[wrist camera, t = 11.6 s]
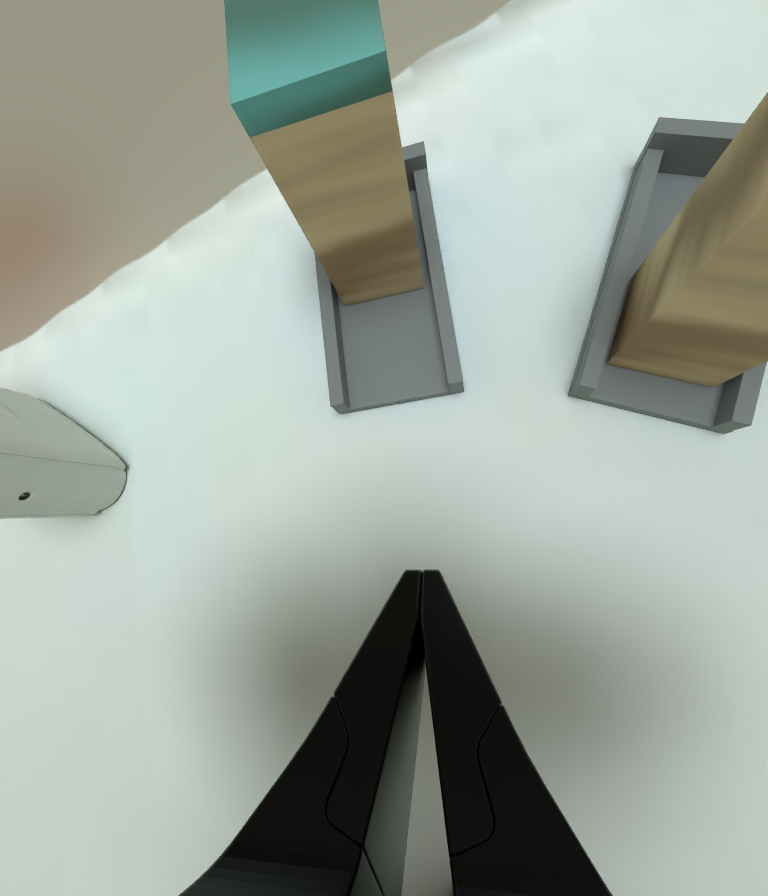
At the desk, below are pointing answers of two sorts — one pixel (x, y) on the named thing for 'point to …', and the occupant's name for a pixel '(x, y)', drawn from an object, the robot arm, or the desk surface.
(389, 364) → the slate track
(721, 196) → the oak key
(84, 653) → the desk surface
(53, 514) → the photo printer
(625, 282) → the slate track
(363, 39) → the oak key
